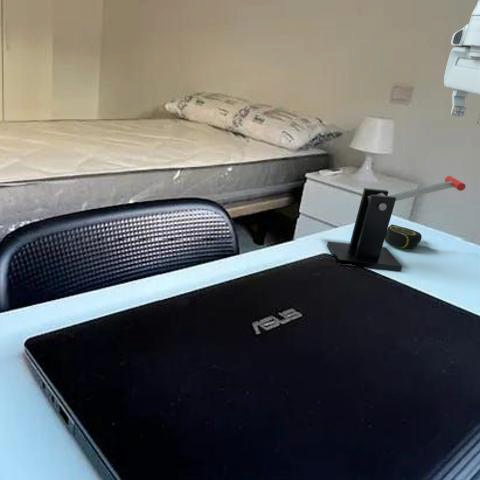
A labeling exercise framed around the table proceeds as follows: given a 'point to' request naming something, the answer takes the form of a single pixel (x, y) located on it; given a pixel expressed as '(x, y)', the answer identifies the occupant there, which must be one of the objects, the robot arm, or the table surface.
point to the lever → (429, 189)
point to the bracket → (369, 235)
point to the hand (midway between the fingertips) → (469, 120)
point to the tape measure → (402, 237)
